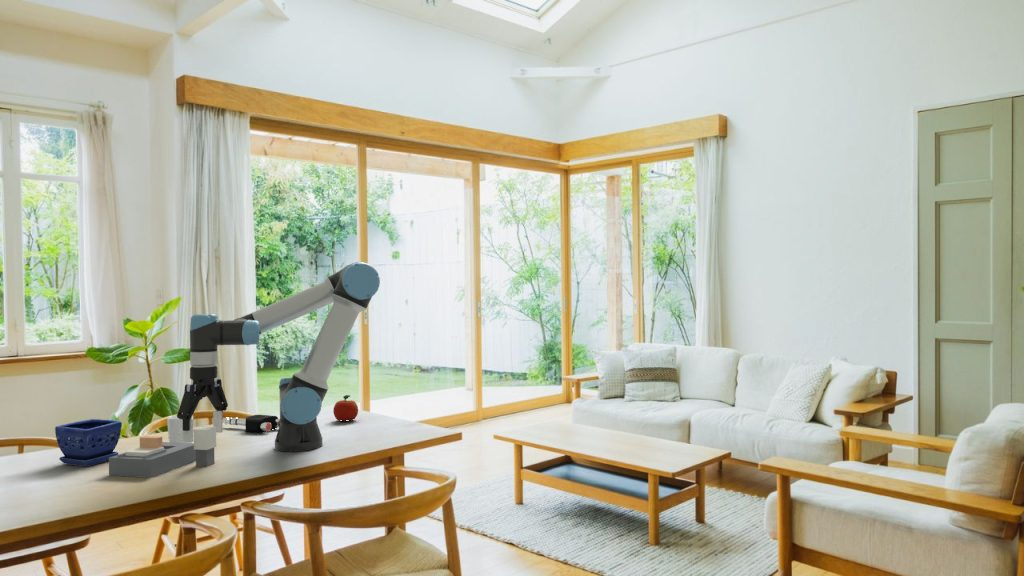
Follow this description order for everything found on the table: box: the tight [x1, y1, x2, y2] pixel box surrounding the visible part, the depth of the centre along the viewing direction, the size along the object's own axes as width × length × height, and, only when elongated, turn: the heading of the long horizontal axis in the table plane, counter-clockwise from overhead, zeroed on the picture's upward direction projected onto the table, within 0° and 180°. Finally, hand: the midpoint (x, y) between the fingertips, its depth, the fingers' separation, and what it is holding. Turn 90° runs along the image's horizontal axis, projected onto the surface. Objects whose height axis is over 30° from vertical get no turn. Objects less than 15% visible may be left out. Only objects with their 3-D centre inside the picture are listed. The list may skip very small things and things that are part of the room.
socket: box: [108, 441, 196, 478], centre depth 204 cm, size 14×20×6 cm
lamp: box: [222, 414, 280, 434], centre depth 257 cm, size 11×5×25 cm
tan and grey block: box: [124, 435, 164, 457], centre depth 200 cm, size 7×7×4 cm
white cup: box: [166, 414, 194, 443], centre depth 231 cm, size 8×8×10 cm
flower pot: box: [54, 418, 123, 467], centre depth 211 cm, size 13×13×12 cm
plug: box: [193, 425, 217, 467], centre depth 206 cm, size 4×4×11 cm
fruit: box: [333, 394, 359, 421], centre depth 271 cm, size 10×10×10 cm
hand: (203, 436), depth 206 cm, fingers open, 13 cm apart
